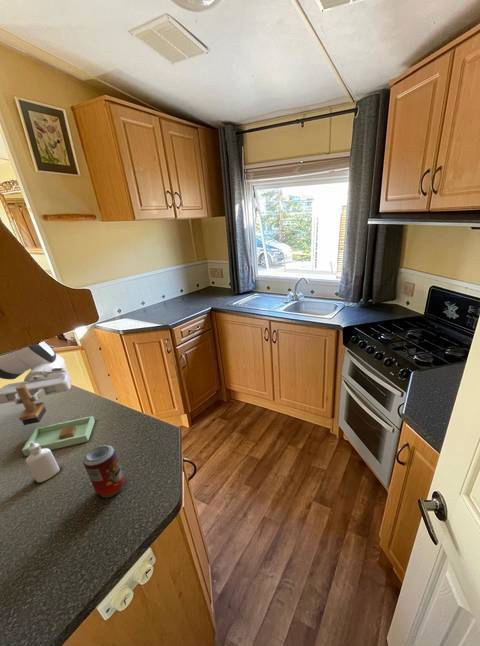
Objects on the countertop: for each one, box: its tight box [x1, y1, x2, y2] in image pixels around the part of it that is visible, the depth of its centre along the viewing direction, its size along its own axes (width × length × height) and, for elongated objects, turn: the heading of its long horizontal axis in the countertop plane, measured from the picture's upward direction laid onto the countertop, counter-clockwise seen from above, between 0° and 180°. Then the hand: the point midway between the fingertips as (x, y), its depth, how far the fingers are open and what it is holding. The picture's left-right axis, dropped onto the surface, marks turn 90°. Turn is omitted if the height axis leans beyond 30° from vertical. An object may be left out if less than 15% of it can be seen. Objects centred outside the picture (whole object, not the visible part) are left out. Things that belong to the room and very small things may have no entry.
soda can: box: [82, 444, 125, 498], centre depth 74 cm, size 7×7×12 cm
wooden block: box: [59, 426, 77, 440], centre depth 97 cm, size 4×4×2 cm
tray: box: [21, 415, 96, 457], centre depth 97 cm, size 18×12×2 cm, turn 109°
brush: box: [15, 384, 47, 426], centre depth 91 cm, size 4×7×12 cm, turn 20°
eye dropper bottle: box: [25, 441, 61, 483], centre depth 80 cm, size 4×6×12 cm
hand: (25, 400), depth 89 cm, fingers closed on brush, 2 cm apart
